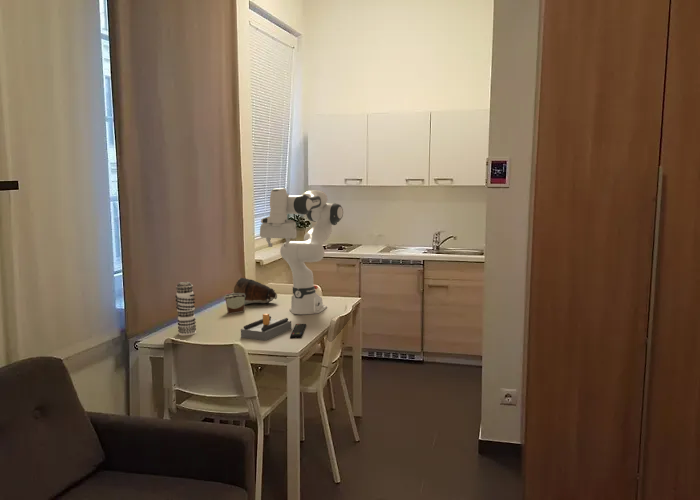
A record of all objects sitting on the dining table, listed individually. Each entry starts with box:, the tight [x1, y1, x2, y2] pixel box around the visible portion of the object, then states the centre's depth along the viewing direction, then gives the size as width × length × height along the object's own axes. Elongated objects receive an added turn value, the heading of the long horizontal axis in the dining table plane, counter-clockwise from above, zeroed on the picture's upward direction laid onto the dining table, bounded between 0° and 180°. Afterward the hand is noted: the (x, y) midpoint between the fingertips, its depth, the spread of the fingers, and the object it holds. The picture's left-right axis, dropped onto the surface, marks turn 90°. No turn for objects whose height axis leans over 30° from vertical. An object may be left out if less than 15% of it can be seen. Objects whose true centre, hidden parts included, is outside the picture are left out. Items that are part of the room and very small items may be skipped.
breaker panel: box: [240, 318, 292, 341], centre depth 291 cm, size 22×14×4 cm, turn 153°
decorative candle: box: [174, 281, 197, 336], centre depth 294 cm, size 9×9×25 cm
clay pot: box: [233, 277, 278, 306], centre depth 358 cm, size 15×15×25 cm
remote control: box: [289, 323, 307, 339], centre depth 293 cm, size 5×24×1 cm, turn 179°
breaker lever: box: [262, 313, 270, 325], centre depth 291 cm, size 2×2×5 cm
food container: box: [223, 292, 246, 315], centre depth 339 cm, size 12×6×10 cm, turn 123°
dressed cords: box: [243, 315, 289, 331], centre depth 291 cm, size 22×12×2 cm, turn 153°
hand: (278, 247), depth 308 cm, fingers open, 8 cm apart
